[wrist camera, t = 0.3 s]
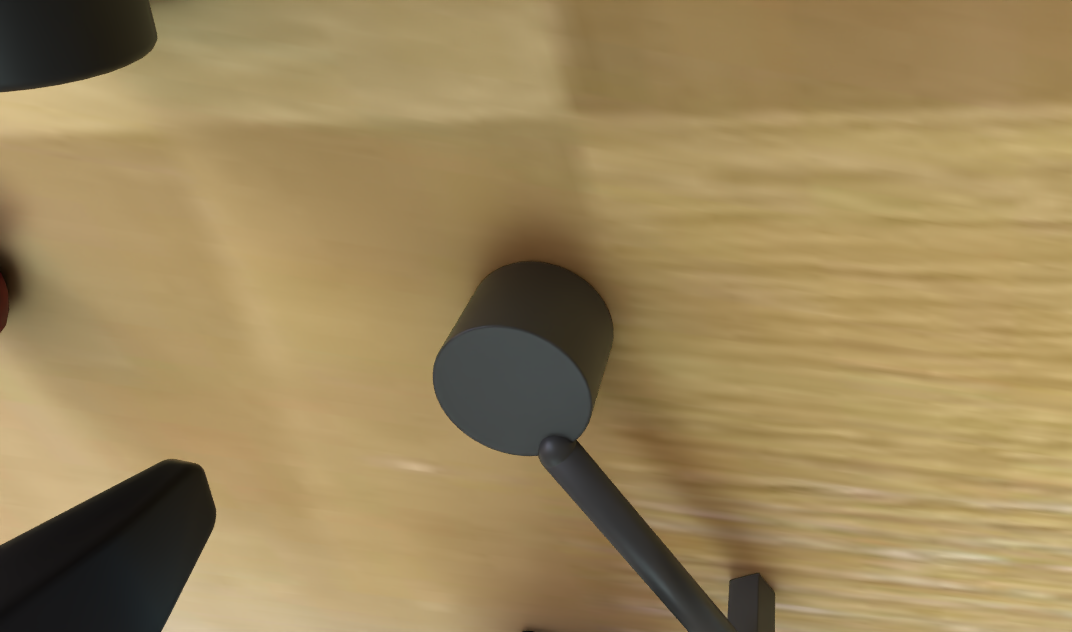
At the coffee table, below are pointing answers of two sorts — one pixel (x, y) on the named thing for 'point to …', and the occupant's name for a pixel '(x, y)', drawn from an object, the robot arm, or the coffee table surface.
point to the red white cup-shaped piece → (3, 303)
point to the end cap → (70, 40)
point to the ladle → (566, 420)
